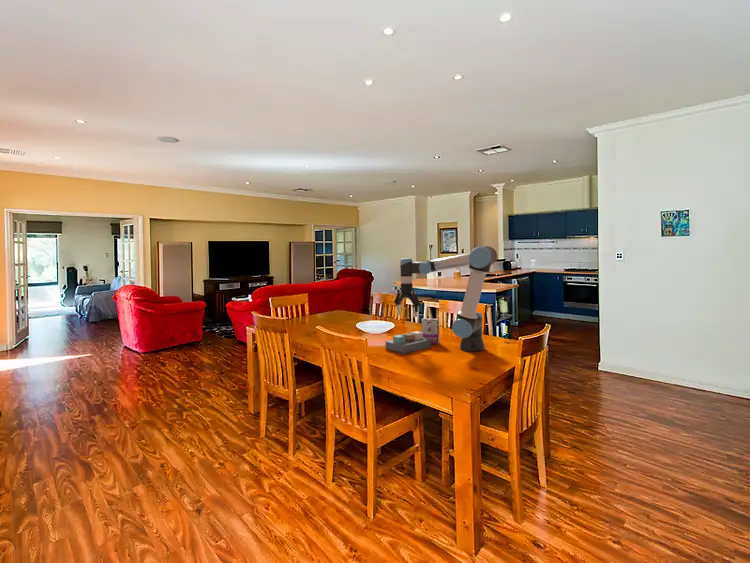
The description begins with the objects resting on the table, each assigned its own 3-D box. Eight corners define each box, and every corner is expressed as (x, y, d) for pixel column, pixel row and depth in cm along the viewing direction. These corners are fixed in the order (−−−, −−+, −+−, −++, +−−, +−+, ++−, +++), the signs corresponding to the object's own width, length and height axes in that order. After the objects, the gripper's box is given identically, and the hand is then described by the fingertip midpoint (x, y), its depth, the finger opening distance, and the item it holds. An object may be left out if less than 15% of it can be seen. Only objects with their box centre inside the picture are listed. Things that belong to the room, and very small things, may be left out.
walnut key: (414, 341, 255) (414, 334, 254) (408, 342, 251) (408, 335, 251) (408, 339, 259) (408, 332, 258) (402, 341, 255) (402, 334, 255)
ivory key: (422, 339, 259) (422, 332, 259) (416, 340, 256) (416, 333, 255) (416, 337, 264) (416, 331, 263) (410, 339, 260) (410, 332, 260)
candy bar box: (439, 342, 267) (439, 318, 265) (438, 344, 262) (437, 319, 261) (423, 341, 271) (422, 317, 269) (421, 343, 266) (421, 319, 264)
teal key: (405, 343, 250) (405, 336, 250) (399, 344, 247) (399, 337, 246) (399, 341, 254) (399, 334, 254) (393, 343, 251) (393, 336, 250)
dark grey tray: (430, 347, 257) (430, 339, 256) (402, 354, 242) (402, 346, 241) (413, 342, 269) (413, 335, 269) (385, 349, 254) (385, 341, 254)
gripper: (425, 283, 250) (426, 317, 252) (395, 281, 267) (396, 312, 270) (418, 284, 245) (418, 319, 247) (388, 282, 262) (388, 314, 264)
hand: (407, 315), depth 258 cm, fingers open, 13 cm apart
